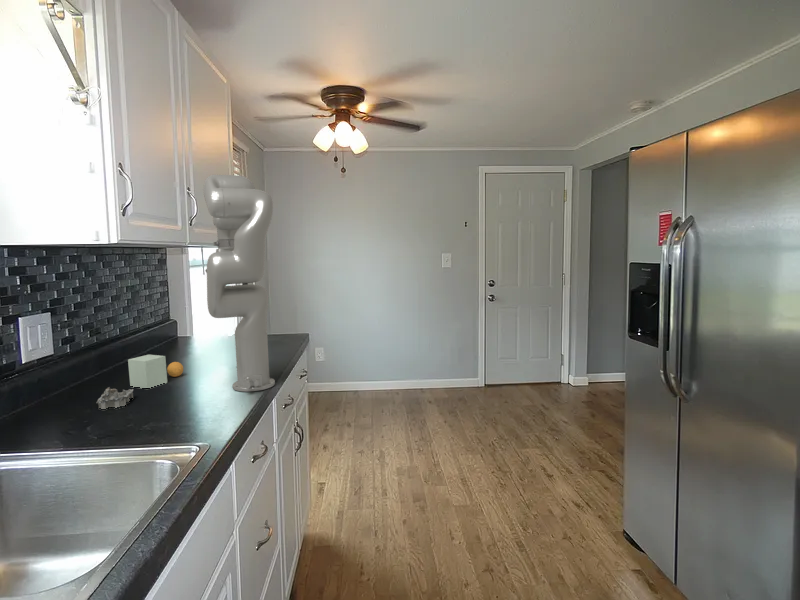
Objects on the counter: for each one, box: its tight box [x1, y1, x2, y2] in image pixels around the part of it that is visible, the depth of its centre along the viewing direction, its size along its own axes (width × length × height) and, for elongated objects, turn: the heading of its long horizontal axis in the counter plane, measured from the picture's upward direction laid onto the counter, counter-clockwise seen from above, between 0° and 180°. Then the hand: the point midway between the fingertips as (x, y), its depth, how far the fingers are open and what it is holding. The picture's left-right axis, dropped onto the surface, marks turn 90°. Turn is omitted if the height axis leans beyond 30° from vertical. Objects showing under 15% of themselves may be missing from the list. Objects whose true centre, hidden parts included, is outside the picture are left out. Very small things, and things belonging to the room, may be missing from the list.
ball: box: [166, 361, 184, 378], centre depth 166 cm, size 5×5×5 cm
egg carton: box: [96, 386, 134, 410], centre depth 138 cm, size 11×8×4 cm
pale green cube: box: [127, 354, 168, 389], centre depth 156 cm, size 8×8×9 cm
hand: (231, 291), depth 183 cm, fingers open, 9 cm apart
